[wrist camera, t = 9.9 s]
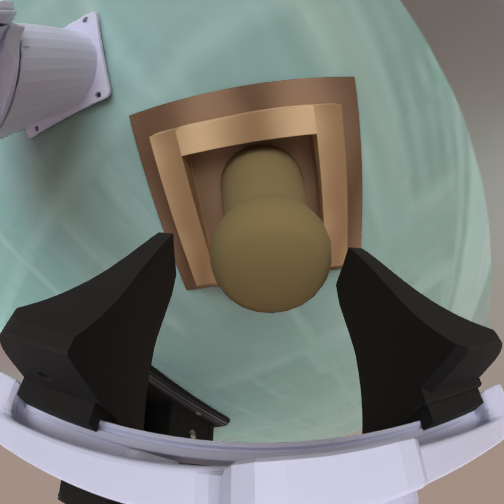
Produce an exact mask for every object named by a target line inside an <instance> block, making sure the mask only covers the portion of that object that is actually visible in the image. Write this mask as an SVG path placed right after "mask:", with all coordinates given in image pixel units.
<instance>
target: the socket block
mask: <svg viewBox="0 0 504 504" xmlns="http://www.w3.org/2000/svg"><path fill="white" fill-rule="evenodd" d="M129 117H130V121H131V125H132V129H133V133H134V136H135V140H136V144H137V147H138V151H139V154H140V158H141V161H142V165H143V168H144V171H145V175H146V178H147V181H148V184H149V187H150V191H151V194H152V197H153V200H154V203H155V206H156V209H157V212H158V215H159V218H160V221H161V224H162V226H163V229H164V232H165V233H173V237H174V253H175V262H176V264H177V267H178V270H179V272H180V275H181V277H182V280H183V282H184V285H185V287H186V290H190V289H199V288H207V287H215V286H219V285H218V284H217V283H216V280H215V277H214V274H213V271H212V268H211V264H210V247H211V241H212V237H213V235H214V233H215V231H216V228H217V226H218V224H219V222H220V221H221V220H222V219H223V217H224V214H223V205H222V195H221V175H222V172H223V170H224V168H225V165H226V163H227V162H228V161H229V160H230V158H231V157H232V156H233V155H234V154H235V153H236V152H238V151H240V150H242V149H244V148H246V147H248V146H253V145H258V144H266V145H273V146H276V147H279V148H281V149H283V150H285V151H287V152H288V153H289V154H290V155H291V156H292V157H293V158H294V159H295V160H296V161H297V163H298V165H299V167H300V169H301V171H302V175H303V182H304V188H305V194H306V201H307V206H308V207H309V208H310V209H311V210H312V211H313V212H314V213H315V214H316V215H317V216H318V217H319V218H320V219H321V221H322V222H323V224H324V226H325V229H326V231H327V233H328V235H329V238H330V240H331V259H332V264H331V267H330V270H333V269H340V268H342V266H343V263H344V260H345V257H346V254H347V251H348V247H353V248H361V230H362V160H361V140H360V125H359V113H358V103H357V94H356V85H355V78H354V77H322V78H305V79H292V80H282V81H274V82H266V83H258V84H252V85H246V86H240V87H234V88H229V89H224V90H219V91H214V92H209V93H205V94H201V95H197V96H192V97H189V98H185V99H181V100H177V101H174V102H170V103H167V104H163V105H160V106H157V107H154V108H150V109H147V110H144V111H141V112H138V113H136V114H133V115H130V116H129Z"/></svg>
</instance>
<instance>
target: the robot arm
mask: <svg viewBox="0 0 504 504" xmlns="http://www.w3.org/2000/svg"><path fill="white" fill-rule="evenodd" d="M16 13H17V11H16V10H14V5H13V2H10V1H2V0H0V139H2V138H5V137H7V136H9V135H12V134H14V133H17V132H20V131H22V130H25V129H26V133H27V136H28V137H29V138H32V137H34V136H36V135H38V134H39V133H41V132H42V131H44V130H46V129H47V128H49V127H51V126H53V125H54V124H56V123H58V122H60V121H61V120H63V119H65V118H67V117H69V116H71V115H73V114H75V113H77V112H79V111H81V110H83V109H85V108H87V107H89V106H91V105H93V104H95V103H97V102H100V101H102V100H104V99H106V98H108V97H109V96H110V95H111V86H110V82H109V77H108V72H107V67H106V62H105V56H104V51H103V45H102V39H101V32H100V25H99V17H98V13H96V12H90V13H88V14H86V15H85V16H83V17H81V18H79V19H78V20H76V21H74V22H73V23H71V24H69V25H68V26H66V27H64V28H58V27H51V26H43V25H34V24H23V23H12V21H13V19H14V17H15V15H16ZM87 18H88V20H87V22H85V20H86V19H87ZM99 92H100V93H101V96H100V98H99V97H98V93H99ZM37 127H39V129H38V128H37ZM175 278H176V266H175V253H174V237H173V233H157V234H156V235H154V236H153V237H152V238H150V239H149V240H148V241H146V242H145V243H144V244H142V245H141V246H140V247H138V248H137V249H136V250H134V251H133V252H132V253H131V254H129V255H128V256H126V257H125V258H124V259H122V260H121V261H119V262H118V263H116V264H115V265H114V266H112V267H111V268H109V269H108V270H106V271H104V272H103V273H101V274H99V275H98V276H96V277H94V278H92V279H91V280H89V281H87V282H85V283H83V284H81V285H79V286H77V287H75V288H73V289H71V290H69V291H66V292H64V293H62V294H59V295H57V296H54V297H51V298H49V299H46V300H43V301H40V302H37V303H33V304H30V305H27V306H23V307H19V308H17V309H16V310H15V311H14V313H13V315H12V316H11V318H10V319H9V321H8V322H7V324H6V326H5V327H4V329H3V330H2V332H1V334H0V343H1V345H2V348H3V350H4V351H5V353H6V354H7V356H8V357H9V358H10V360H11V361H12V362H13V364H14V365H15V366H16V367H17V368H18V370H19V371H20V372H21V374H22V375H23V376H24V379H23V381H22V383H20V382H19V381H17V380H16V379H14V378H13V377H11V376H9V375H7V374H5V373H3V372H1V371H0V444H1V445H2V446H3V447H5V448H6V449H8V450H9V451H11V452H12V453H14V454H16V455H17V456H19V457H20V458H22V459H24V460H25V461H27V462H29V463H30V464H33V465H34V466H36V467H37V468H39V469H41V470H43V471H45V472H47V473H49V474H51V475H53V476H55V477H57V478H59V479H61V480H63V481H65V482H67V483H69V484H72V485H74V486H76V487H79V488H81V489H84V490H86V491H89V492H91V493H94V494H97V495H99V496H102V497H105V498H108V499H111V500H114V501H117V502H120V503H124V504H419V501H418V495H417V490H419V489H421V488H423V487H425V485H426V484H428V483H430V482H432V481H434V480H437V479H439V478H441V477H443V476H445V475H446V474H448V473H450V472H452V471H454V470H456V469H458V468H460V467H462V466H463V465H465V464H467V463H468V462H470V461H472V460H473V459H475V458H477V457H478V456H480V455H482V454H483V453H485V452H486V451H488V450H489V449H491V448H492V447H494V446H495V445H496V444H498V443H499V442H501V441H502V440H503V439H504V392H503V389H502V387H501V385H500V384H497V385H495V386H492V387H490V388H488V389H486V390H484V391H483V392H481V393H480V392H479V390H478V387H480V386H481V381H480V379H479V377H480V376H481V375H482V374H483V373H484V372H485V370H487V368H488V367H489V366H490V365H491V364H492V363H493V362H494V360H495V359H496V358H497V356H498V355H499V353H500V351H501V348H502V342H501V340H500V339H499V337H498V335H497V334H496V333H495V331H494V330H492V329H489V328H487V327H484V326H481V325H479V324H476V323H473V322H471V321H469V320H467V319H464V318H462V317H460V316H458V315H456V314H454V313H452V312H450V311H448V310H447V309H445V308H443V307H441V306H439V305H438V304H436V303H434V302H433V301H431V300H430V299H428V298H427V297H425V296H424V295H422V294H421V293H419V292H418V291H416V290H415V289H414V288H412V287H411V286H410V285H408V284H407V283H406V282H404V281H403V280H402V279H401V278H399V277H398V276H397V275H396V274H394V273H393V272H392V271H391V270H389V269H388V268H387V267H386V266H385V265H383V264H382V263H381V262H380V261H378V260H377V259H376V258H375V257H373V256H372V255H371V254H369V253H368V252H367V251H365V250H363V249H362V248H353V247H348V251H347V254H346V257H345V260H344V263H343V266H342V269H341V272H340V275H339V278H338V281H337V284H336V287H337V293H338V298H339V303H340V307H341V310H342V313H343V316H344V319H345V322H346V325H347V328H348V331H349V334H350V337H351V340H352V344H353V347H354V351H355V354H356V360H357V365H358V371H359V379H360V387H361V397H362V420H363V426H362V430H363V431H362V434H360V435H354V436H347V437H340V438H332V439H324V440H314V441H301V442H282V443H240V442H221V441H209V440H198V439H190V438H182V437H175V436H169V435H163V434H157V433H152V432H147V431H144V417H145V405H146V396H147V387H148V381H149V374H150V368H151V362H152V357H153V352H154V347H155V343H156V339H157V336H158V333H159V330H160V327H161V324H162V321H163V319H164V316H165V313H166V310H167V307H168V304H169V301H170V298H171V296H172V292H173V287H174V282H175ZM178 462H183V463H191V464H199V465H210V466H198V465H182V464H179V463H178Z"/></svg>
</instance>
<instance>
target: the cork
mask: <svg viewBox="0 0 504 504" xmlns="http://www.w3.org/2000/svg"><path fill="white" fill-rule="evenodd" d="M221 195H222V205H223V214H224V217H223V219H222V220H221V221H220V222H219V224H218V226H217V228H216V231H215V233H214V235H213V237H212V241H211V247H210V264H211V268H212V271H213V274H214V277H215V280H216V283H217V284H218V285H219V287H220V288H221V289H222V290H223V292H224V293H225V294H226V295H227V296H228V297H229V298H230V299H231V300H232V301H234V302H235V303H237V304H239V305H240V306H242V307H244V308H247V309H250V310H253V311H256V312H266V313H276V312H282V311H288V310H291V309H293V308H296V307H298V306H301V305H303V304H304V303H305V302H307V301H308V300H309V299H311V298H312V297H314V296H315V294H316V293H317V292H318V291H319V289H320V288H321V287H322V285H323V284H324V282H325V281H326V279H327V276H328V273H329V270H330V267H331V264H332V259H331V240H330V238H329V235H328V233H327V231H326V229H325V226H324V224H323V222H322V221H321V219H320V218H319V217H318V216H317V215H316V214H315V213H314V212H313V211H312V210H311V209H310V208H309V207H308V206H307V201H306V194H305V188H304V182H303V175H302V171H301V169H300V167H299V165H298V163H297V161H296V160H295V159H294V158H293V157H292V156H291V155H290V154H289V153H288V152H287V151H285V150H283V149H281V148H279V147H276V146H273V145H266V144H258V145H253V146H248V147H246V148H244V149H242V150H240V151H238V152H236V153H235V154H234V155H233V156H232V157H231V158H230V160H229V161H228V162H227V163H226V165H225V168H224V170H223V172H222V175H221Z"/></svg>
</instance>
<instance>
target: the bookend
mask: <svg viewBox="0 0 504 504" xmlns="http://www.w3.org/2000/svg"><path fill="white" fill-rule="evenodd" d="M229 422H230V419H229V418H228V417H226V416H224V415H222V414H221V413H219V412H217V411H216V410H214V409H212V408H211V407H209V406H208V405H206V404H205V403H203V402H201V401H200V400H198V399H197V398H195V397H194V396H192V395H191V394H189V393H188V392H186V391H185V390H184V389H182V388H181V387H179V386H178V385H176V384H175V383H173V382H172V381H171V380H169V379H168V378H166V377H165V376H164V375H162V374H161V373H160V372H158V371H157V370H156V369H154V368H153V367H152V366H151V368H150V374H149V381H148V387H147V396H146V405H145V417H144V431H147V432H152V433H157V434H163V435H169V436H175V437H182V438H190V439H198V440H209V441H213V430H214V427H221V426H225V425H227V424H228V423H229ZM178 463H179V464H182V465H198V466H210V465H199V464H191V463H183V462H178ZM58 497H59V498H58V500H60V501H62V502H63V503H65V504H124V503H120V502H117V501H114V500H111V499H108V498H105V497H102V496H99V495H97V494H94V493H91V492H89V491H86V490H84V489H81V488H79V487H76V486H74V485H72V484H69V483H67V482H65V481H63V480H61V485H60V492H59V494H58Z"/></svg>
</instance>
